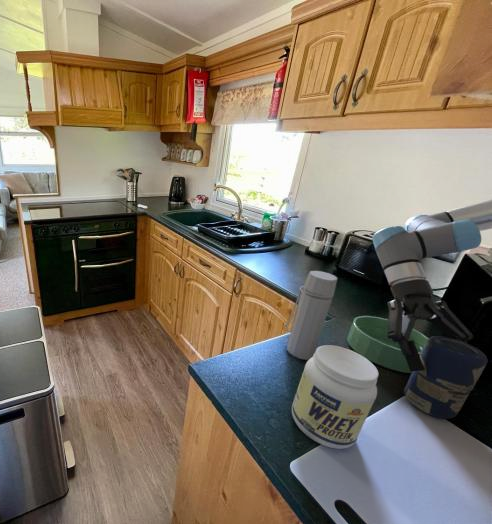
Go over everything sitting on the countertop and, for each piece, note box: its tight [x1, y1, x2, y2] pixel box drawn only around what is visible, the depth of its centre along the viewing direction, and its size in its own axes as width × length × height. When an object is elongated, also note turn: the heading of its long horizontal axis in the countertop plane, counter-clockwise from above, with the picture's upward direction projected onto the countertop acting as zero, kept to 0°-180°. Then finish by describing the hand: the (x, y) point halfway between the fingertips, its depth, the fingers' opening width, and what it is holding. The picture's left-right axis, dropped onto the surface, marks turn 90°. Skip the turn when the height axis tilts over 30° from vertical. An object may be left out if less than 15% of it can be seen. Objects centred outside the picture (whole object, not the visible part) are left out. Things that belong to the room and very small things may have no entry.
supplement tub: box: [291, 344, 379, 450], centre depth 59 cm, size 12×12×17 cm
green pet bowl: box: [346, 315, 430, 374], centre depth 87 cm, size 19×19×7 cm
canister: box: [403, 335, 488, 420], centre depth 66 cm, size 10×10×18 cm
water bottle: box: [285, 270, 338, 361], centre depth 81 cm, size 9×8×25 cm
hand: (444, 370), depth 66 cm, fingers open, 13 cm apart
